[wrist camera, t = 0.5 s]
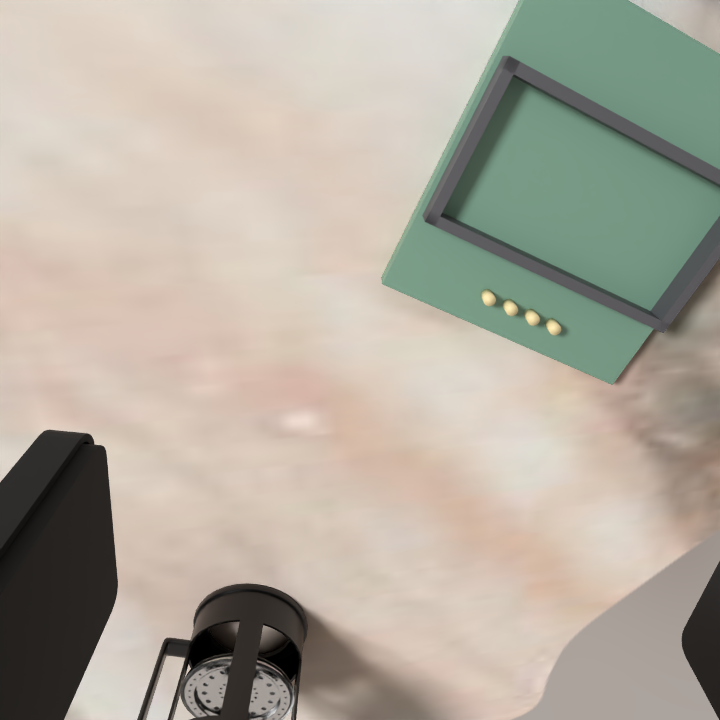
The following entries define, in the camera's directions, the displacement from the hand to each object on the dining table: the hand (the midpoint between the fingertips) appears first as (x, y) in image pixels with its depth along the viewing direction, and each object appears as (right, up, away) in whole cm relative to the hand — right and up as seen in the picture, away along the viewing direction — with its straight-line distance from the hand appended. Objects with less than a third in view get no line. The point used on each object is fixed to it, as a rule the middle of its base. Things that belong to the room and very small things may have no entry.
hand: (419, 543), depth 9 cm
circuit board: (+12, +12, +26) cm, 31 cm away
